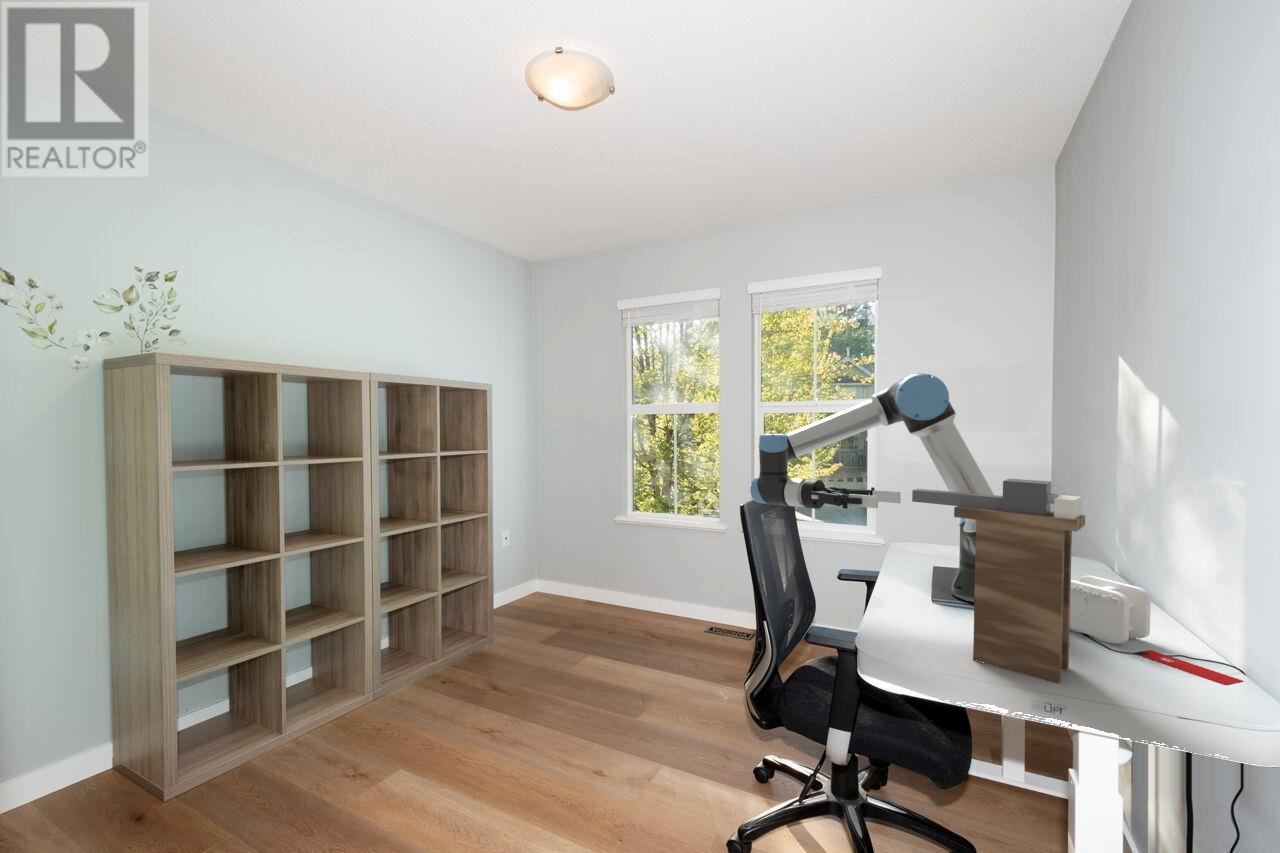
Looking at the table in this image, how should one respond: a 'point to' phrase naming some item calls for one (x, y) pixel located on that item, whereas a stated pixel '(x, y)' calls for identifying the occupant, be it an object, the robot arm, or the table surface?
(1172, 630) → the table surface
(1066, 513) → the white rectangular block
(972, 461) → the robot arm
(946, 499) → the grey t-shaped block
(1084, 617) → the cable organizer
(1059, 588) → the shelf
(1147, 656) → the electronic device
